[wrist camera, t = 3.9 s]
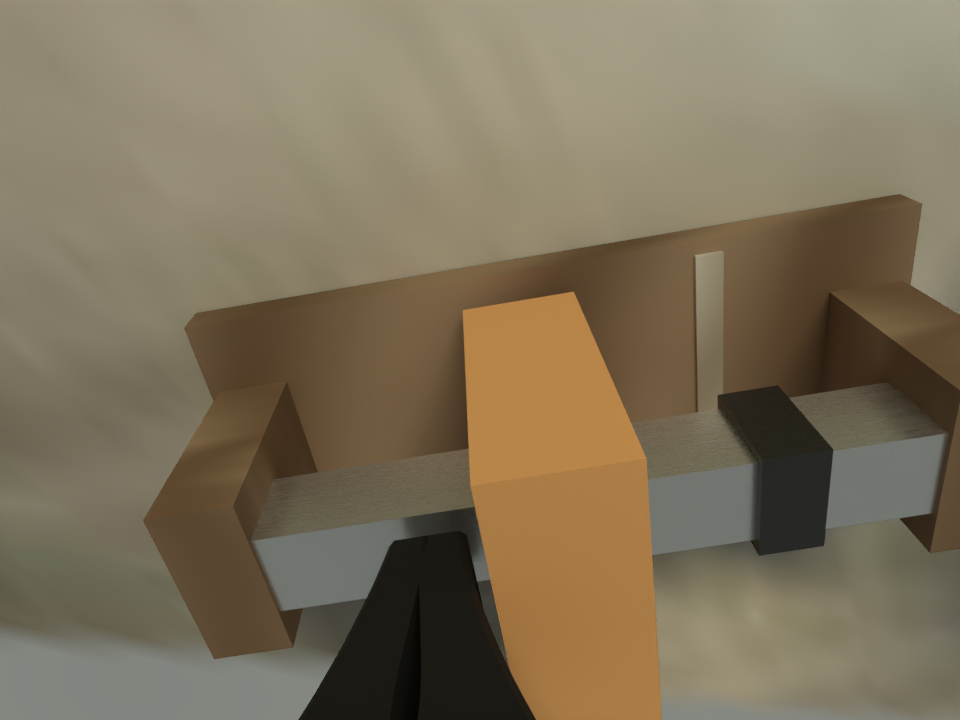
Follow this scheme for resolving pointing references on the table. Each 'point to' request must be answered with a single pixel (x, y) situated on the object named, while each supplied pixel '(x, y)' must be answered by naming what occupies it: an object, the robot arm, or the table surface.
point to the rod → (671, 485)
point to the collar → (561, 512)
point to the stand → (621, 341)
